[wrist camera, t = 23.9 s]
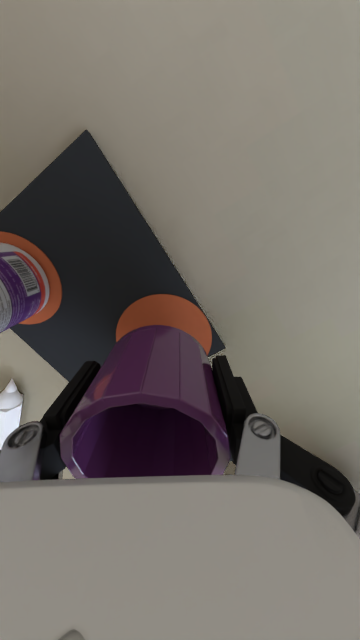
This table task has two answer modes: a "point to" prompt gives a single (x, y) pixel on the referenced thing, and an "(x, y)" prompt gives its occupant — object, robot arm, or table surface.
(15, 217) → the placemat
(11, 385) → the white pencil
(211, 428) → the cup
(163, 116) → the table surface
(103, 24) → the table surface
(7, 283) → the pill bottle
